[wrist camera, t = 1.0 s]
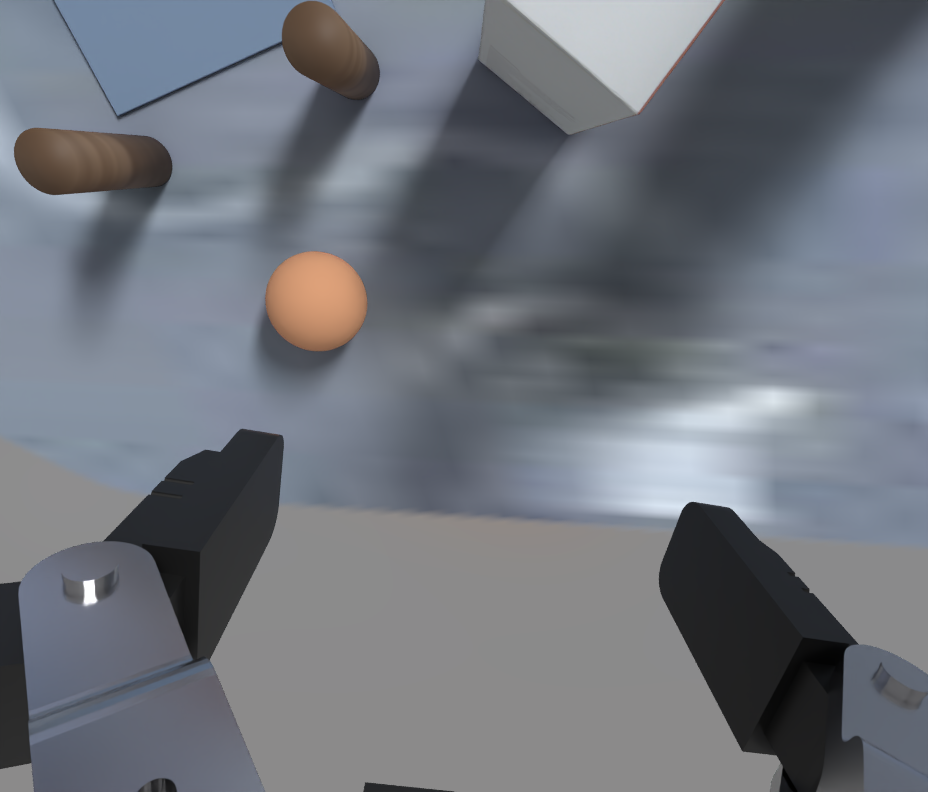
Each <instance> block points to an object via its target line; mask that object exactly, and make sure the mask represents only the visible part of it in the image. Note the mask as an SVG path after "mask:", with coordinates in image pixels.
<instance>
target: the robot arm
mask: <svg viewBox="0 0 928 792" xmlns="http://www.w3.org/2000/svg"><path fill="white" fill-rule="evenodd" d="M283 449H284V440H283V436H282V435H278V434H272V433H265V432H259V431H253V430H247V429H240V430H239V431H238V432H237V433H236V434H235V436H234V437H233V438H232V439H231V440H230V441H229V443H228V444H227V445H226V446H225V447H224V448H223V450H222V451H221V452H217V451H210V450H204V451H202V452H200V453H198V454H195V455H193V456H191V457H189V458H187V459H185V460H183V461H181V462H180V463H179V464H178V465H177V466H176V467H175V468H174V469H173V470H172V471H171V472H170V473H169V474H168V475H167V476H166V477H165V480H164V481H161V482H160V483H159V484H158V485H157V486H156V487H155V488H154V489H153V490H152V493H151V495H148V496H147V497H146V498H145V499H144V500H143V501H142V502H141V503H140V504H139V505H138V506H137V507H136V508H135V509H134V510H133V511H132V512H131V513H130V514H129V515H128V516H127V517H126V518H125V520H123V521H122V522H121V523H120V525H119V526H118V527H117V528H116V529H115V530H114V531H113V532H112V533H111V534H110V535H109V536H108V537H107V538H106V539H105V540H104V541H102V542H92V543H86V544H81V545H78V546H73V547H70V548H67V549H65V550H62V551H60V552H57V553H55V554H53V555H51V556H49V557H48V558H45V559H44V560H42V561H41V562H39V563H38V564H37V565H35V566H34V567H33V568H32V569H31V570H30V571H29V572H28V573H27V574H26V575H25V577H24V578H23V580H22V581H21V582H13V583H4V584H0V769H3V768H8V767H13V766H19V765H23V764H29V763H32V775H33V787H34V792H265V790H264V787H263V785H262V783H261V780H260V778H259V775H258V773H257V771H256V768H255V766H254V763H253V761H252V758H251V756H250V754H249V751H248V749H247V746H246V744H245V741H244V739H243V737H242V734H241V732H240V729H239V727H238V725H237V722H236V720H235V718H234V715H233V712H232V710H231V708H230V705H229V703H228V700H227V698H226V696H225V693H224V691H223V688H222V686H221V683H220V681H219V679H218V677H217V674H216V672H215V670H214V667H213V665H212V664H211V662H210V661H209V660H210V658H211V656H212V654H213V652H214V650H215V648H216V646H217V644H218V642H219V640H220V638H221V636H222V634H223V632H224V630H225V628H226V626H227V624H228V622H229V620H230V618H231V616H232V614H233V612H234V610H235V608H236V606H237V604H238V602H239V600H240V598H241V596H242V594H243V592H244V590H245V588H246V586H247V585H248V582H249V581H250V578H251V577H252V575H253V573H254V571H255V569H256V567H257V565H258V563H259V561H260V559H261V557H262V555H263V553H264V551H265V549H266V547H267V545H268V543H269V540H270V538H271V536H272V533H273V530H274V527H275V523H276V519H277V513H278V507H279V496H280V485H281V473H282V461H283ZM659 587H660V592H661V595H662V597H663V599H664V601H665V603H666V605H667V607H668V609H669V611H670V613H671V615H672V617H673V619H674V621H675V623H676V624H677V626H678V628H679V630H680V632H681V634H682V636H683V638H684V640H685V642H686V644H687V645H688V648H689V649H690V651H691V653H692V655H693V657H694V659H695V661H696V663H697V665H698V667H699V669H700V670H701V673H702V674H703V676H704V678H705V680H706V682H707V684H708V686H709V688H710V690H711V692H712V694H713V696H714V697H715V700H716V701H717V703H718V705H719V707H720V709H721V711H722V713H723V715H724V717H725V719H726V721H727V723H728V725H729V726H730V728H731V730H732V732H733V734H734V736H735V738H736V740H737V742H738V744H739V746H740V748H741V750H742V751H743V752H752V753H760V754H761V753H762V754H769V755H777V757H778V758H779V760H780V762H781V763H780V765H779V767H778V769H777V770H776V772H775V774H774V776H773V778H772V781H771V788H770V792H928V675H927V674H926V673H925V672H923V671H922V670H920V669H919V668H918V667H916V666H914V665H913V664H911V663H909V662H908V661H906V660H904V659H902V658H901V657H898V656H897V655H895V654H892V653H890V652H888V651H885V650H882V649H880V648H877V647H873V646H868V645H859V644H858V643H857V642H856V641H855V640H854V639H853V637H852V636H851V635H850V634H849V633H848V632H847V631H846V630H845V629H844V627H843V626H842V625H841V624H840V623H839V622H838V621H837V620H836V618H835V617H834V616H833V615H832V614H831V613H830V612H829V611H828V609H827V608H826V607H825V606H824V605H823V604H822V603H821V602H820V601H819V599H818V598H817V597H816V596H815V595H814V594H813V593H809V588H808V587H807V586H806V585H805V584H804V583H803V582H802V581H801V579H800V578H799V577H795V573H794V571H792V569H791V568H790V567H789V566H788V565H787V564H786V562H784V560H783V559H782V558H781V557H780V556H779V555H778V554H777V553H776V552H775V551H773V550H772V549H770V548H769V547H768V546H766V545H765V544H764V543H762V542H761V541H759V539H758V538H757V537H756V536H755V535H754V534H753V533H752V531H751V530H750V529H749V528H748V527H747V526H746V525H745V523H744V522H743V521H742V520H741V519H740V518H739V517H738V515H737V514H736V513H735V512H734V511H733V510H732V509H730V508H728V507H722V506H716V505H710V504H703V503H697V502H690V503H688V504H687V505H686V506H685V507H684V508H683V510H682V512H681V514H680V517H679V520H678V522H677V525H676V527H675V530H674V532H673V535H672V538H671V540H670V543H669V545H668V548H667V551H666V553H665V555H664V558H663V561H662V564H661V567H660V572H659ZM363 792H453V791H443V790H433V789H424V788H414V787H404V786H395V785H385V784H376V783H365V786H364V791H363Z"/></svg>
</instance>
